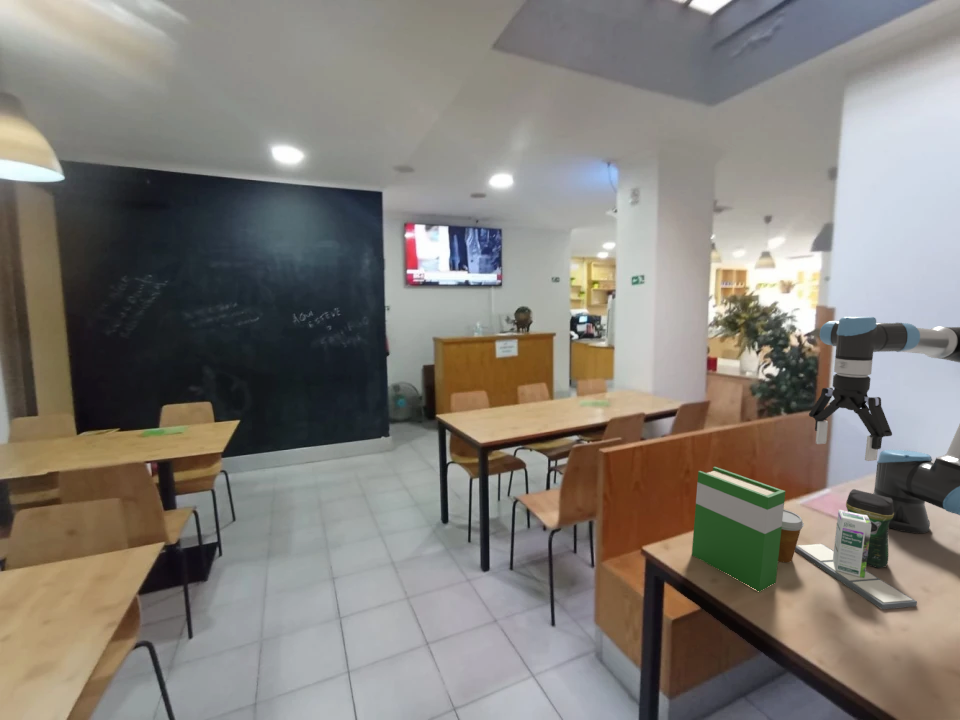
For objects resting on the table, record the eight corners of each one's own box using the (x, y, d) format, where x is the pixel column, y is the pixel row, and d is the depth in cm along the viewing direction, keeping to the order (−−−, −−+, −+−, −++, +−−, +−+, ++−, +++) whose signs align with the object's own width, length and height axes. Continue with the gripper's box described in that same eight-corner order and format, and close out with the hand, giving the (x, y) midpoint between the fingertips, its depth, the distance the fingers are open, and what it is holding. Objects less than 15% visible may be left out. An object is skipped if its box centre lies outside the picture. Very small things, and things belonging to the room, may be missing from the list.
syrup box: (835, 571, 109) (841, 517, 107) (832, 559, 114) (838, 508, 112) (864, 579, 106) (872, 523, 104) (860, 567, 111) (867, 514, 109)
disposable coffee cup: (759, 560, 116) (763, 518, 114) (755, 543, 124) (759, 503, 123) (802, 570, 112) (807, 527, 110) (796, 552, 120) (800, 511, 118)
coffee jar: (888, 560, 116) (897, 495, 114) (885, 572, 111) (895, 504, 108) (842, 545, 123) (850, 484, 121) (837, 556, 118) (845, 492, 115)
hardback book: (691, 554, 118) (698, 471, 115) (708, 547, 122) (715, 466, 119) (758, 592, 103) (768, 497, 100) (775, 583, 106) (785, 491, 103)
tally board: (821, 547, 122) (822, 543, 122) (916, 606, 99) (917, 600, 98) (793, 549, 121) (793, 544, 121) (882, 609, 97) (882, 603, 97)
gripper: (797, 368, 126) (792, 438, 129) (891, 384, 102) (882, 469, 104) (819, 367, 127) (813, 436, 130) (917, 382, 103) (907, 467, 106)
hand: (844, 451), depth 117 cm, fingers open, 13 cm apart
